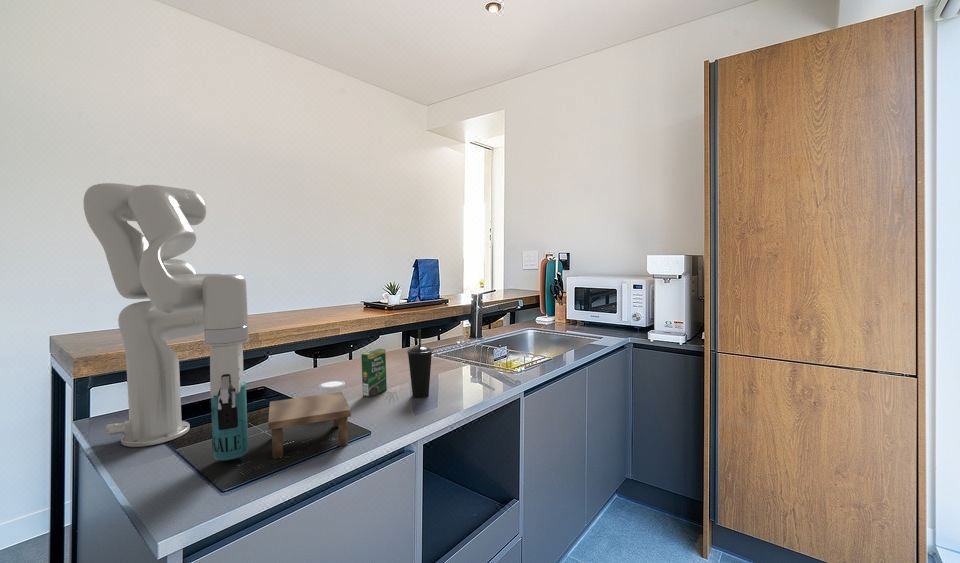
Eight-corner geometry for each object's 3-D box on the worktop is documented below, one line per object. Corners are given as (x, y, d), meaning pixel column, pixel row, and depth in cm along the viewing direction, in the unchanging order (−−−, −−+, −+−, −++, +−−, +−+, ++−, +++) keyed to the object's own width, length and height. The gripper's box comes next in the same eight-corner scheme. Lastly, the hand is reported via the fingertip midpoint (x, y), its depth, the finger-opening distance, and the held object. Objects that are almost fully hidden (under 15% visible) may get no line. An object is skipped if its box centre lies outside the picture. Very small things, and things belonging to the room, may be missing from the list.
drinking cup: (403, 398, 122) (402, 330, 121) (413, 390, 129) (412, 326, 128) (428, 400, 120) (427, 331, 119) (436, 392, 127) (436, 327, 126)
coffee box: (368, 398, 122) (367, 354, 121) (361, 396, 124) (360, 353, 123) (387, 390, 129) (386, 349, 128) (380, 389, 131) (379, 348, 130)
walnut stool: (269, 461, 84) (268, 422, 83) (270, 435, 96) (269, 401, 96) (351, 445, 91) (350, 409, 90) (342, 423, 103) (341, 391, 103)
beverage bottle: (242, 450, 89) (238, 358, 88) (255, 459, 85) (251, 362, 84) (207, 461, 84) (203, 364, 83) (219, 472, 80) (215, 369, 79)
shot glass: (337, 414, 109) (336, 388, 109) (314, 412, 111) (313, 386, 110) (350, 405, 116) (350, 380, 116) (328, 403, 118) (327, 379, 117)
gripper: (211, 331, 89) (215, 410, 90) (196, 345, 73) (201, 439, 74) (251, 328, 92) (254, 404, 93) (245, 340, 77) (249, 431, 77)
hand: (231, 420), depth 84 cm, fingers open, 9 cm apart
